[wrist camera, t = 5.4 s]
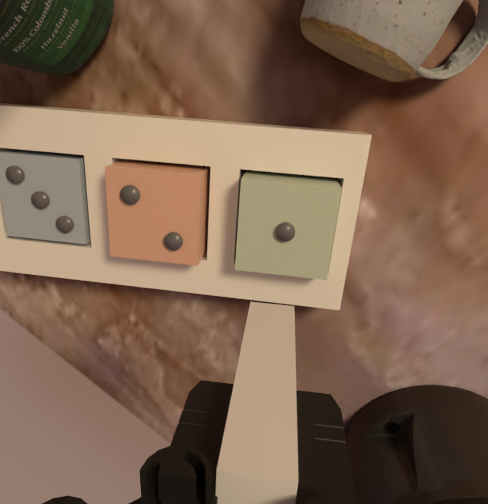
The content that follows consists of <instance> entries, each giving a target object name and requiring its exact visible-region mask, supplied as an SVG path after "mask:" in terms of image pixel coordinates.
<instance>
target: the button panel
mask: <svg viewBox="0 0 488 504" xmlns="http://www.w3.org/2000/svg"><path fill="white" fill-rule="evenodd" d="M371 137H372V135H370V134H367V133H365V132H358V131H346V130H333V129H321V128H308V127H296V126H283V125H271V124H258V123H246V122H233V121H221V120H209V119H196V118H184V117H171V116H159V115H146V114H134V113H121V112H109V111H96V110H84V109H72V108H59V107H47V106H34V105H22V104H9V103H0V151H2V150H8V149H21V150H33V151H44V152H55V153H66V154H77V155H84V162H85V174H86V187H87V199H88V212H89V224H90V236H91V241H90V242H89V243H88V244H78V243H69V242H59V241H50V240H41V239H32V238H23V237H13V236H7V230H6V224H5V218H4V212H3V206H2V200H1V194H0V271H7V272H15V273H24V274H32V275H41V276H50V277H58V278H67V279H76V280H84V281H93V282H101V283H110V284H119V285H127V286H136V287H144V288H153V289H162V290H170V291H179V292H188V293H196V294H205V295H213V296H222V297H231V298H239V299H248V300H256V301H265V302H274V303H282V304H291V305H299V306H308V307H317V308H325V309H334V310H340V305H341V299H342V294H343V288H344V283H345V278H346V272H347V267H348V261H349V256H350V251H351V245H352V240H353V234H354V229H355V224H356V218H357V213H358V207H359V202H360V197H361V191H362V186H363V180H364V175H365V170H366V164H367V159H368V153H369V148H370V142H371ZM130 159H133V160H144V161H155V162H166V163H177V164H188V165H200V166H211V168H210V194H209V221H208V245H207V250H206V252H205V254H204V255H203V257H202V259H201V261H200V262H199V264H198V266H195V265H186V264H177V263H168V262H159V261H150V260H141V259H132V258H122V257H113V256H110V242H109V226H108V210H107V194H106V178H105V166H108V165H111V164H114V163H117V162H120V161H123V160H130ZM244 170H255V171H266V172H277V173H289V174H300V175H311V176H322V177H333V178H337V181H338V183H339V184H340V186H341V188H342V191H341V197H340V203H339V209H338V215H337V221H336V227H335V233H334V239H333V245H332V251H331V257H330V263H329V269H328V275H327V280H322V279H313V278H304V277H295V276H286V275H276V274H267V273H258V272H249V271H240V270H235V260H236V245H237V231H238V216H239V201H240V186H241V178H242V177H243V175H244Z"/></svg>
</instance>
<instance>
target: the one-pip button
mask: <svg viewBox="0 0 488 504" xmlns="http://www.w3.org/2000/svg"><path fill="white" fill-rule="evenodd" d="M341 191H342V188H341V186H340V184H339V183H338V181H337V180H336V179H330V178H319V177H308V176H297V175H286V174H275V173H263V172H252V171H246V172H245V174H244V175H243V177H242V178H241V186H240V201H239V216H238V231H237V245H236V260H235V270H240V271H249V272H258V273H267V274H276V275H286V276H295V277H304V278H313V279H322V280H327V275H328V269H329V263H330V257H331V251H332V245H333V239H334V233H335V227H336V221H337V215H338V209H339V203H340V197H341Z"/></svg>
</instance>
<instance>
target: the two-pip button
mask: <svg viewBox="0 0 488 504" xmlns="http://www.w3.org/2000/svg"><path fill="white" fill-rule="evenodd" d="M209 173H210V168H208V167H197V166H186V165H175V164H164V163H152V162H141V161H130V160H123V161H120V162H117V163H114V164H111V165H108V166H105V178H106V194H107V210H108V226H109V242H110V256H113V257H122V258H132V259H141V260H150V261H159V262H168V263H177V264H186V265H195V266H198V264H199V262H200V261H201V259H202V257H203V255H204V254H205V252H206V250H207V227H208V200H209Z"/></svg>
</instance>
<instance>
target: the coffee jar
mask: <svg viewBox="0 0 488 504" xmlns="http://www.w3.org/2000/svg"><path fill="white" fill-rule="evenodd" d="M113 7H114V4H113V0H0V63H4V64H8V65H12V66H16V67H20V68H24V69H28V70H32V71H36V72H41V73H46V74H51V75H67V74H70V73H73V72H75V71H76V70H78V69H79V68H80V67H82V66H83V65H84V64H85V63H86V62H87V61H88V60H89V59H90V57H91V56H92V55H93V53H94V52H95V51H96V50H97V49H98V47H99V46H100V44H101V42H102V41H103V40H104V38H105V36H106V34H107V32H108V30H109V27H110V25H111V22H112V17H113Z"/></svg>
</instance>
